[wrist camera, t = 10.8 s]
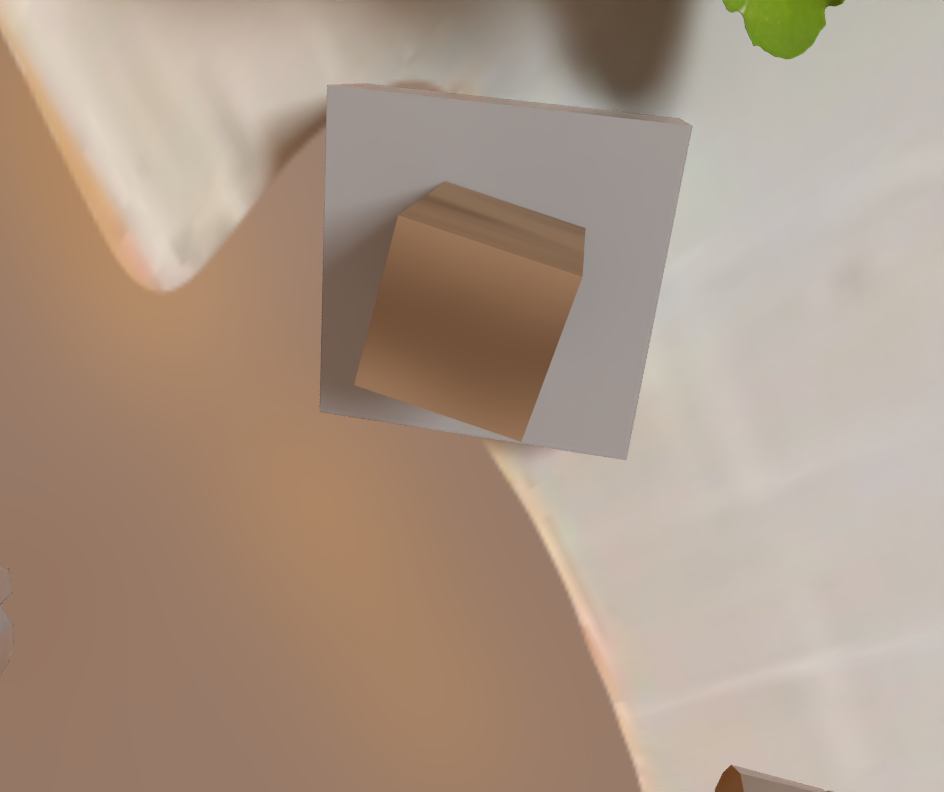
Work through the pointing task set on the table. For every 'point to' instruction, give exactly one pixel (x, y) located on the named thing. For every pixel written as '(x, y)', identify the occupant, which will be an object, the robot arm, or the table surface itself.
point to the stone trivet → (521, 183)
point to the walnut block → (472, 308)
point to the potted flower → (782, 23)
